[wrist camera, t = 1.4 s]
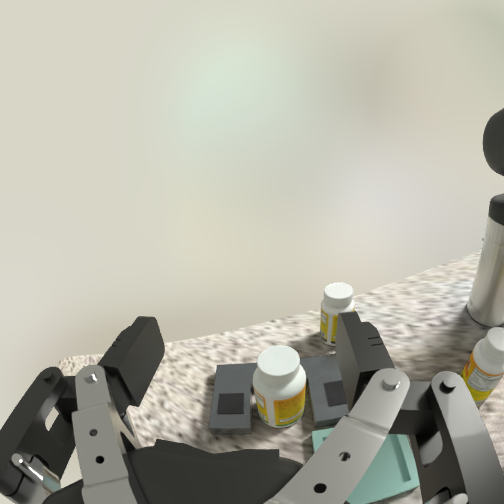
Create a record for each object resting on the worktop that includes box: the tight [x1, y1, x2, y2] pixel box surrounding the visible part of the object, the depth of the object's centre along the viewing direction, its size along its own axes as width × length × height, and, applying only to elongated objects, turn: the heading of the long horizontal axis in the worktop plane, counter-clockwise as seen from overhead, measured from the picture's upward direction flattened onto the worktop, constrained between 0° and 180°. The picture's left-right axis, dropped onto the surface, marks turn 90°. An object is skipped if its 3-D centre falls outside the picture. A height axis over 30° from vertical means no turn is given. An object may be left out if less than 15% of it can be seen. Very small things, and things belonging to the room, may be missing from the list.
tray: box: [311, 428, 420, 504], centre depth 19 cm, size 10×10×1 cm
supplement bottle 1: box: [253, 345, 306, 428], centre depth 26 cm, size 5×5×10 cm
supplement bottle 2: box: [320, 282, 355, 346], centre depth 37 cm, size 5×5×8 cm
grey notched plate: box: [209, 353, 349, 434], centre depth 29 cm, size 18×10×2 cm, turn 90°
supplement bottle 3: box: [460, 327, 504, 408], centre depth 20 cm, size 6×6×10 cm
